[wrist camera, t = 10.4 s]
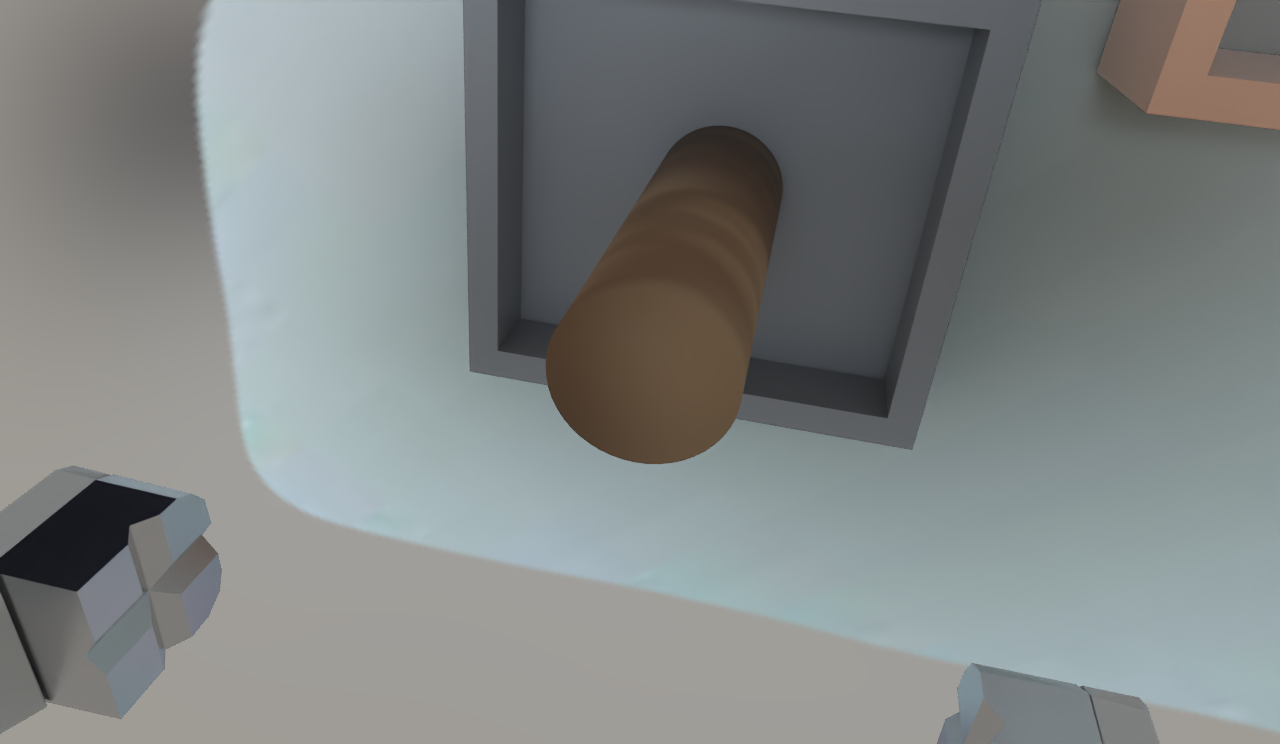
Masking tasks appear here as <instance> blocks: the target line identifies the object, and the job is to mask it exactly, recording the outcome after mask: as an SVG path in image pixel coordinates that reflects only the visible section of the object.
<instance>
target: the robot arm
mask: <svg viewBox="0 0 1280 744" xmlns="http://www.w3.org/2000/svg"><path fill="white" fill-rule="evenodd" d="M210 524H211V521H210V517H209V514H208V510H207V507H206V503H205V500H204V499H202V498H200V497H198V496H195V495H193V494H191V493H187V492H182V491H178V490H174V489H170V488H166V487H162V486H158V485H154V484H150V483H145V482H142V481H138V480H134V479H130V478H126V477H121V476H118V475H110V474H106V473H102V472H98V471H94V470H89V469H85V468H81V467H78V466H70V467H66V468H62V469H58V470H55V471H54V472H52V473H51V474H50V475H48V476H47V477H46V478H44V479H43V480H42V481H41V482H39V483H38V484H36V485H35V486H34V487H33V488H31V489H30V490H28V491H27V492H26V493H24V494H23V495H22V496H20V497H19V498H18V499H17V500H15V501H14V502H13V503H11V504H10V505H9V506H7V507H6V508H5V509H3V510H2V511H1V512H0V734H1V733H2V732H4V731H6V730H8V729H9V728H11V727H13V726H14V725H16V724H18V723H20V722H21V721H23V720H25V719H27V718H28V717H30V716H32V715H34V714H35V713H37V712H39V711H40V710H42V709H44V708H46V706H47V704H46V702H49V703H53V704H58V705H62V706H67V707H71V708H76V709H79V710H84V711H88V712H93V713H97V714H102V715H106V716H110V717H115V718H119V719H122V717H123V716H124V715H125V714H126V713H127V712H128V711H129V709H130V708H131V707H132V706H133V705H134V704H135V702H136V701H137V700H138V699H139V698H140V697H141V695H142V694H143V693H144V692H145V691H146V690H147V689H148V687H149V686H150V685H151V684H152V683H153V682H154V680H155V679H156V678H157V677H158V676H159V675H160V674H161V672H162V671H163V670H164V669H165V649H168V648H170V647H171V646H174V645H176V644H178V643H180V642H182V641H184V640H186V639H188V638H190V637H192V636H193V635H194V634H195V632H196V631H197V630H198V629H199V628H200V626H201V625H202V624H203V622H204V621H205V620H206V619H207V618H208V617H209V615H210V612H211V610H212V608H213V605H214V603H215V601H216V598H217V596H218V594H219V591H220V583H221V565H220V560H219V556H218V553H217V552H216V551H215V550H214V548H213V547H212V546H211V545H210V544H209V543H208V542H207V541H206V539H205V538H204V537H203V536H202V535H203V533H204V532H205V531H206V529H207V528H208V527H209V525H210ZM958 698H959V709H960V712H959V713H957V714H955V715H953V716H951V717H949V718H947V719H945V722H944V725H943V728H942V731H941V734H940V736H939V739H938V742H937V744H1160V742H1159V739H1158V736H1157V733H1156V730H1155V727H1154V724H1153V721H1152V719H1151V715H1150V712H1149V710H1148V707H1147V706H1146V705H1145V704H1144V703H1143V702H1142V700H1141V699H1140V698H1138V697H1134V696H1129V695H1124V694H1119V693H1114V692H1110V691H1105V690H1100V689H1095V688H1090V687H1086V686H1081V687H1079V686H1077V685H1076V684H1071V683H1067V682H1062V681H1057V680H1052V679H1047V678H1042V677H1038V676H1033V675H1028V674H1023V673H1018V672H1014V671H1009V670H1004V669H999V668H994V667H989V666H985V665H980V664H975V663H972V664H971V665H970V666H969V667H968V668H967V669H966V670H965V672H964V674H963V677H962V679H961V682H960V684H959V686H958Z"/></svg>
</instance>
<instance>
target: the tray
mask: <svg viewBox="0 0 1280 744" xmlns="http://www.w3.org/2000/svg"><path fill="white" fill-rule="evenodd" d="M1041 1H1042V0H463V27H464V82H465V136H466V191H467V245H468V300H469V354H470V371H471V372H476V373H482V374H488V375H493V376H499V377H505V378H510V379H516V380H521V381H527V382H533V383H538V384H544V385H548V383H547V377H546V356H547V350H548V346H549V343H550V340H551V338H552V335H553V333H554V331H555V330H556V328H557V326H558V325H559V323H560V322H561V320H562V319H563V317H564V315H565V314H566V312H567V311H568V309H569V307H570V306H571V304H572V303H573V301H574V300H575V298H576V296H577V295H578V293H579V292H580V290H581V289H582V287H583V285H584V284H585V282H586V281H587V279H588V278H589V276H590V274H591V273H592V271H593V270H594V268H595V266H596V265H597V263H598V262H599V260H600V259H601V257H602V255H603V254H604V252H605V251H606V249H607V248H608V246H609V244H610V243H611V241H612V240H613V238H614V237H615V235H616V233H617V232H618V230H619V229H620V227H621V225H622V224H623V222H624V221H625V219H626V218H627V216H628V214H629V213H630V211H631V210H632V208H633V207H634V205H635V203H636V202H637V200H638V199H639V197H640V196H641V194H642V192H643V191H644V189H645V188H646V186H647V184H648V183H649V181H650V180H651V178H652V177H653V175H654V173H655V172H656V170H657V169H658V167H659V166H660V164H661V162H662V161H663V159H664V158H665V156H666V155H667V153H668V151H669V150H670V149H671V148H672V146H673V145H674V144H675V143H676V142H677V141H678V140H680V139H681V138H682V137H684V136H685V135H687V134H688V133H690V132H692V131H694V130H697V129H700V128H703V127H708V126H718V125H721V126H730V127H735V128H738V129H741V130H744V131H746V132H748V133H750V134H752V135H753V136H755V137H756V138H758V139H759V140H760V141H761V142H763V143H764V144H765V145H766V146H767V148H768V149H769V150H770V151H771V153H772V154H773V156H774V157H775V159H776V161H777V163H778V165H779V168H780V172H781V176H782V182H783V192H782V200H781V205H780V210H779V215H778V220H777V225H776V230H775V235H774V240H773V245H772V250H771V255H770V260H769V265H768V270H767V275H766V280H765V285H764V290H763V295H762V300H761V305H760V310H759V316H758V321H757V326H756V331H755V336H754V341H753V346H752V351H751V356H750V361H749V366H748V371H747V376H746V381H745V386H744V391H743V396H742V400H741V404H740V409H739V411H738V414H737V416H736V419H741V420H747V421H752V422H758V423H764V424H769V425H775V426H781V427H786V428H792V429H798V430H803V431H809V432H814V433H820V434H826V435H831V436H837V437H843V438H848V439H854V440H860V441H865V442H871V443H876V444H882V445H888V446H893V447H899V448H905V449H910V450H912V449H913V445H914V442H915V438H916V435H917V431H918V428H919V425H920V421H921V418H922V414H923V411H924V407H925V404H926V400H927V397H928V393H929V390H930V386H931V383H932V379H933V376H934V372H935V369H936V365H937V362H938V359H939V355H940V352H941V348H942V345H943V341H944V338H945V334H946V331H947V327H948V324H949V320H950V317H951V313H952V310H953V306H954V303H955V300H956V296H957V293H958V289H959V286H960V282H961V279H962V275H963V272H964V268H965V265H966V261H967V258H968V254H969V251H970V247H971V244H972V240H973V237H974V234H975V230H976V227H977V223H978V220H979V216H980V213H981V209H982V206H983V202H984V199H985V195H986V192H987V188H988V185H989V181H990V178H991V175H992V171H993V168H994V164H995V161H996V157H997V154H998V150H999V147H1000V143H1001V140H1002V136H1003V133H1004V129H1005V126H1006V122H1007V119H1008V116H1009V112H1010V109H1011V105H1012V102H1013V98H1014V95H1015V91H1016V88H1017V84H1018V81H1019V77H1020V74H1021V70H1022V67H1023V63H1024V60H1025V56H1026V53H1027V50H1028V46H1029V43H1030V39H1031V36H1032V32H1033V29H1034V25H1035V22H1036V18H1037V15H1038V11H1039V8H1040V4H1041Z"/></svg>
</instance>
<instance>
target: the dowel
mask: <svg viewBox="0 0 1280 744" xmlns="http://www.w3.org/2000/svg"><path fill="white" fill-rule="evenodd" d="M782 192H783V182H782V176H781V172H780V168H779V165H778V163H777V161H776V159H775V157H774V156H773V154H772V153H771V151H770V150H769V149H768V148H767V146H766V145H765V144H764V143H763V142H761V141H760V140H759V139H758V138H756V137H755V136H753V135H752V134H750V133H748V132H746V131H744V130H741V129H738V128H735V127H730V126H721V125H718V126H708V127H703V128H700V129H697V130H694V131H692V132H690V133H688V134H687V135H685V136H684V137H682V138H681V139H680V140H678V141H677V142H676V143H675V144H674V145H673V146H672V148H671V149H670V150H669V151H668V153H667V155H666V156H665V158H664V159H663V161H662V162H661V164H660V166H659V167H658V169H657V170H656V172H655V173H654V175H653V177H652V178H651V180H650V181H649V183H648V184H647V186H646V188H645V189H644V191H643V192H642V194H641V196H640V197H639V199H638V200H637V202H636V203H635V205H634V207H633V208H632V210H631V211H630V213H629V214H628V216H627V218H626V219H625V221H624V222H623V224H622V225H621V227H620V229H619V230H618V232H617V233H616V235H615V237H614V238H613V240H612V241H611V243H610V244H609V246H608V248H607V249H606V251H605V252H604V254H603V255H602V257H601V259H600V260H599V262H598V263H597V265H596V266H595V268H594V270H593V271H592V273H591V274H590V276H589V278H588V279H587V281H586V282H585V284H584V285H583V287H582V289H581V290H580V292H579V293H578V295H577V296H576V298H575V300H574V301H573V303H572V304H571V306H570V307H569V309H568V311H567V312H566V314H565V315H564V317H563V319H562V320H561V322H560V323H559V325H558V326H557V328H556V330H555V331H554V333H553V335H552V338H551V340H550V343H549V346H548V350H547V356H546V377H547V383H548V387H549V391H550V394H551V397H552V399H553V401H554V403H555V405H556V407H557V409H558V411H559V412H560V414H561V415H562V417H563V418H564V420H565V421H566V422H567V423H568V424H569V426H570V427H571V428H572V429H573V430H574V431H575V432H576V433H577V434H578V435H579V436H581V437H582V438H583V439H584V440H586V441H587V442H588V443H590V444H591V445H593V446H595V447H596V448H598V449H599V450H601V451H604V452H606V453H608V454H610V455H612V456H615V457H618V458H621V459H624V460H628V461H632V462H637V463H645V464H664V463H673V462H678V461H682V460H685V459H688V458H691V457H694V456H696V455H698V454H700V453H702V452H704V451H706V450H707V449H709V448H710V447H712V446H713V445H714V444H716V443H717V442H718V441H719V440H720V439H721V438H722V437H723V436H724V435H725V434H726V432H727V431H728V430H729V429H730V427H731V425H732V424H733V422H734V420H735V418H736V416H737V414H738V411H739V409H740V404H741V400H742V396H743V391H744V386H745V381H746V376H747V371H748V366H749V361H750V356H751V351H752V346H753V341H754V336H755V331H756V326H757V321H758V316H759V310H760V305H761V300H762V295H763V290H764V285H765V280H766V275H767V270H768V265H769V260H770V255H771V250H772V245H773V240H774V235H775V230H776V225H777V220H778V215H779V210H780V205H781V200H782Z"/></svg>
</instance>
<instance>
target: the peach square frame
mask: <svg viewBox="0 0 1280 744" xmlns="http://www.w3.org/2000/svg"><path fill="white" fill-rule="evenodd" d="M1236 1H1237V0H1120V2H1119V5H1118V8H1117V11H1116V14H1115V17H1114V20H1113V23H1112V26H1111V29H1110V32H1109V35H1108V38H1107V41H1106V44H1105V47H1104V50H1103V53H1102V56H1101V59H1100V62H1099V65H1098V68H1097V71H1096V73H1098V74H1099V75H1100V76H1101V77H1102V78H1104V79H1105V80H1106V81H1107V82H1109V83H1110V84H1111V85H1112V86H1113V87H1115V88H1116V89H1117V90H1118V91H1120V92H1121V93H1122V94H1123V95H1124V96H1126V97H1127V98H1128V99H1129V100H1131V101H1132V102H1133V103H1134V104H1135V105H1137V106H1138V107H1139V108H1140V109H1142V110H1143V111H1144V112H1145V113H1149V114H1157V115H1165V116H1173V117H1181V118H1189V119H1197V120H1205V121H1213V122H1221V123H1229V124H1237V125H1245V126H1253V127H1261V128H1269V129H1277V130H1280V55H1272V54H1263V53H1255V52H1246V51H1237V50H1228V49H1220V48H1218V47H1219V44H1220V42H1221V39H1222V37H1223V34H1224V32H1225V29H1226V26H1227V24H1228V21H1229V19H1230V16H1231V14H1232V11H1233V9H1234V6H1235V3H1236Z"/></svg>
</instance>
